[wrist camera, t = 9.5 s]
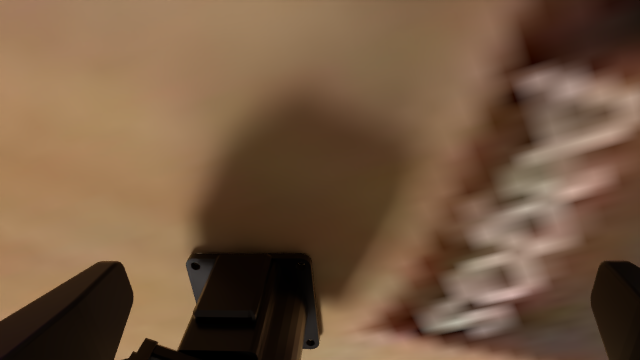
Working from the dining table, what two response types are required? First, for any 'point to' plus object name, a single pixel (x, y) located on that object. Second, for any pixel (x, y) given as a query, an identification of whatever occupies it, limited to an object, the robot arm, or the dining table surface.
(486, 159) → the dining table surface
